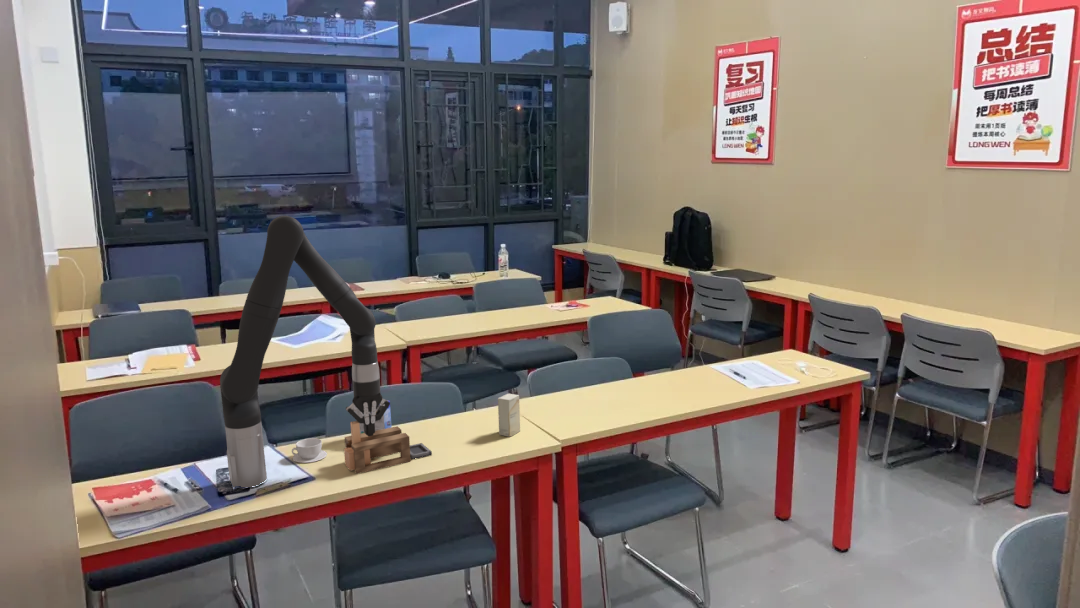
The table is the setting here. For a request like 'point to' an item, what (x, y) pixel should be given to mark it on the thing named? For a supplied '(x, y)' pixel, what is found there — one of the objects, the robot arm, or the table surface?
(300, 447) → the teacup
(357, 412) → the ink cartridge box
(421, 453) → the tray
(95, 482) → the table surface
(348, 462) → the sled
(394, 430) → the tunnel
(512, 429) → the skincare box
